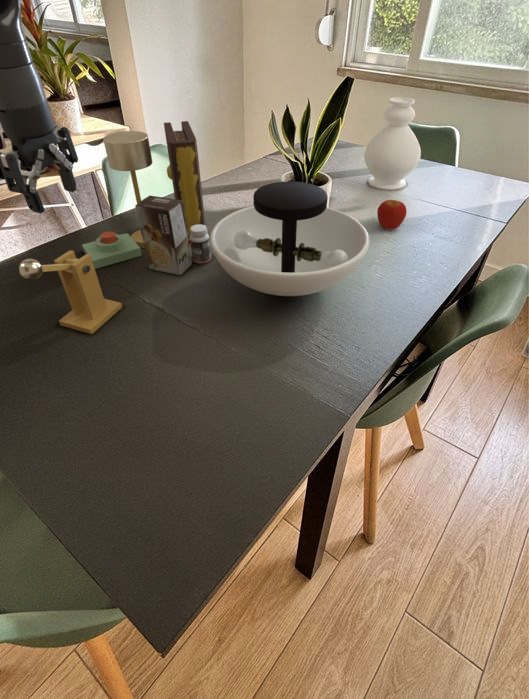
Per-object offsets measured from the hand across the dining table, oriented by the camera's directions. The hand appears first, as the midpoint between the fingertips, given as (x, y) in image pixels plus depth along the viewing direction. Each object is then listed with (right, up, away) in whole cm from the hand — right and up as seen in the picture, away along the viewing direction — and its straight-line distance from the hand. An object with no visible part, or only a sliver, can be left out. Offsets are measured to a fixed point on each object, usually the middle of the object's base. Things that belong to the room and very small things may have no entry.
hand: (55, 200), depth 75 cm
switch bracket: (+1, -19, +14) cm, 24 cm away
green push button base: (-2, -2, +34) cm, 34 cm away
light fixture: (+42, -12, +22) cm, 49 cm away
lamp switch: (-1, -13, +2) cm, 13 cm away
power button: (-2, +1, +32) cm, 32 cm away
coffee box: (+14, -6, +30) cm, 33 cm away
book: (+16, +9, +47) cm, 50 cm away
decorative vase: (+79, +30, +70) cm, 110 cm away
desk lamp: (+5, +3, +40) cm, 40 cm away
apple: (+72, +8, +45) cm, 85 cm away
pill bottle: (+21, -4, +32) cm, 39 cm away
